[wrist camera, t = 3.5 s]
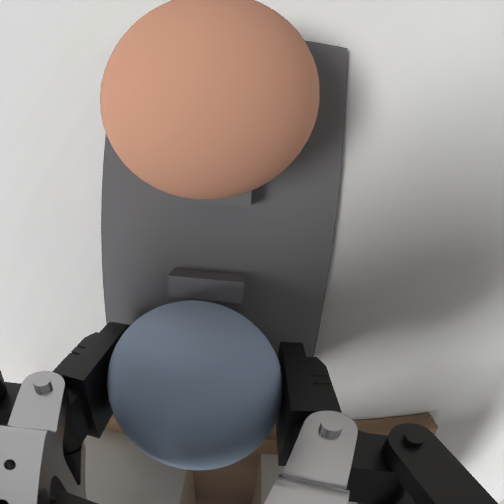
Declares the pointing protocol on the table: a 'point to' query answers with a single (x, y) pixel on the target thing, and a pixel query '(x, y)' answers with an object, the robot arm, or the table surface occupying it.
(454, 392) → the table surface
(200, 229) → the mat
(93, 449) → the tube terracotta
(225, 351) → the ball slate
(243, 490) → the tube board
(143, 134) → the ball terracotta
